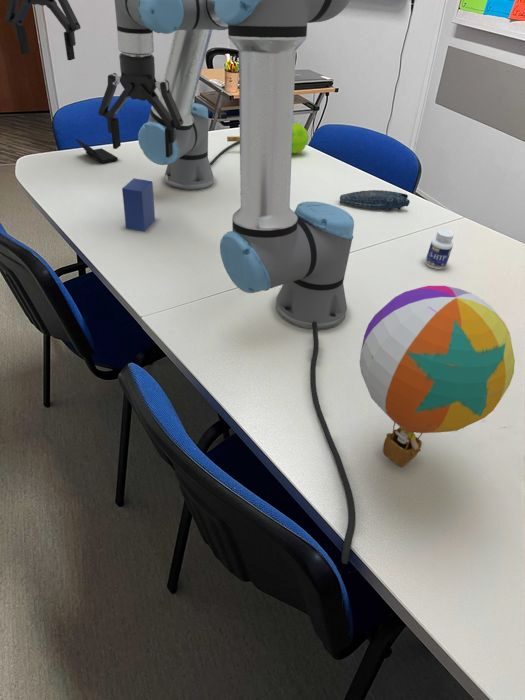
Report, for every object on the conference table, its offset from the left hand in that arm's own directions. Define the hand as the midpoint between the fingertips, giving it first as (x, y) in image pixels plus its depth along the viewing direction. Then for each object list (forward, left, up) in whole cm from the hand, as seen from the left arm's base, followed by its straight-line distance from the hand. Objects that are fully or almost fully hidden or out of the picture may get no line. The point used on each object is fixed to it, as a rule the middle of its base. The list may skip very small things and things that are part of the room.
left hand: (48, 56), depth 143 cm
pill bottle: (+13, +114, -32) cm, 120 cm away
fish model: (-17, +95, -32) cm, 101 cm away
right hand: (+23, +39, -13) cm, 47 cm away
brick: (+23, +37, -32) cm, 54 cm away
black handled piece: (-16, +2, -32) cm, 36 cm away
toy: (+82, +110, -32) cm, 141 cm away
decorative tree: (-49, +52, -32) cm, 78 cm away
